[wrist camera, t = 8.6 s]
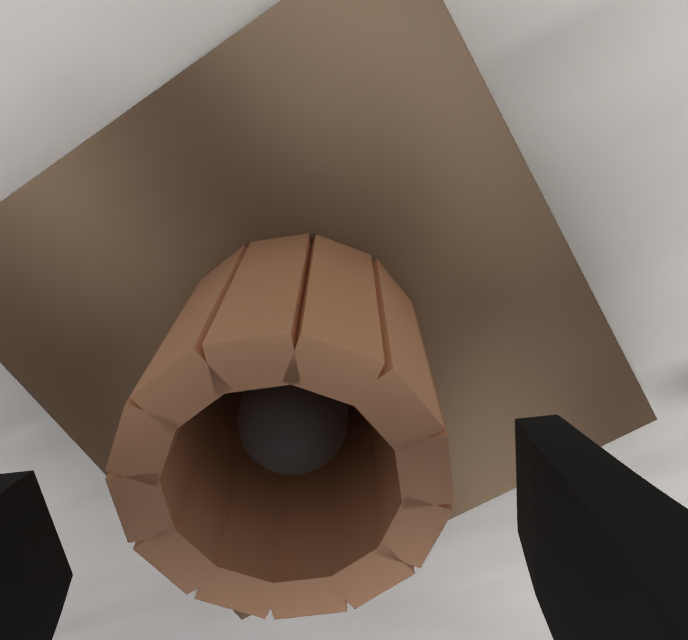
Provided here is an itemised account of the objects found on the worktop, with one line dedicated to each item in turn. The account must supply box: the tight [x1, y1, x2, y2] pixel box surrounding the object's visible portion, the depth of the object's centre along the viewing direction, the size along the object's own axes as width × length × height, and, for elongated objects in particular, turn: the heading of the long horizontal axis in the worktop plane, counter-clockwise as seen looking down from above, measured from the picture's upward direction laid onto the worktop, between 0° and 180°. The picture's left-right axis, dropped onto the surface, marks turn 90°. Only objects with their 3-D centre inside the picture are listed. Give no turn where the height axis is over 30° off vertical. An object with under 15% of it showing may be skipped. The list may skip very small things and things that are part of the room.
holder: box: [0, 0, 657, 619], centre depth 13 cm, size 12×12×5 cm
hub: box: [105, 233, 455, 620], centre depth 12 cm, size 5×5×5 cm
